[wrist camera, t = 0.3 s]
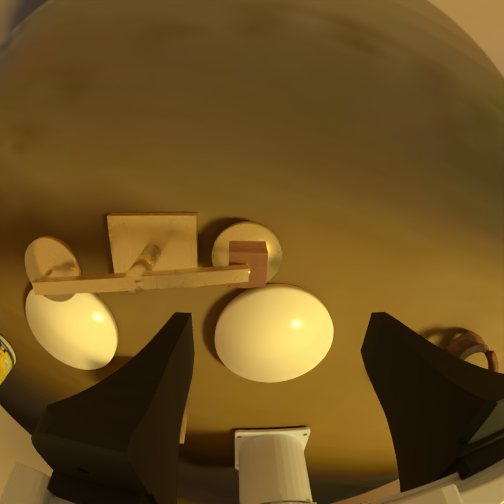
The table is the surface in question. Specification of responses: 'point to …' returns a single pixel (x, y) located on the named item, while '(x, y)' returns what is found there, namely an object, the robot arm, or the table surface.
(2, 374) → the supplement bottle
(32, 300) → the cream round disc
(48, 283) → the balance
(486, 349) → the brown segmented ring
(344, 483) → the table surface
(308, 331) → the dish low side
